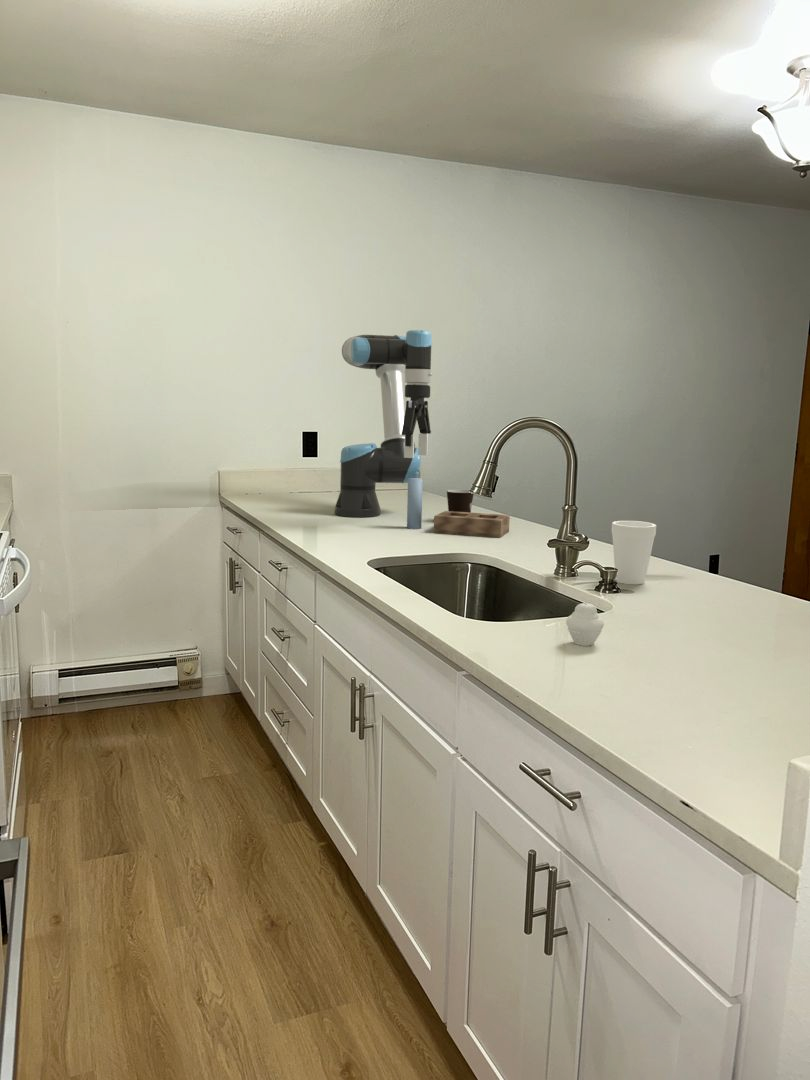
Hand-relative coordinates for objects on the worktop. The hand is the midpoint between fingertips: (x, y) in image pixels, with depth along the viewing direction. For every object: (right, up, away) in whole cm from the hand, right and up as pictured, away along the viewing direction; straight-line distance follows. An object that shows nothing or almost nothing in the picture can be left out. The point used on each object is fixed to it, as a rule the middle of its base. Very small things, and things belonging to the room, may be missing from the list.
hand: (416, 456), depth 253 cm
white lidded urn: (+27, -42, -112) cm, 123 cm away
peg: (-1, -21, +4) cm, 22 cm away
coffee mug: (+15, -19, +19) cm, 31 cm away
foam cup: (+47, -34, -63) cm, 86 cm away
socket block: (+17, -23, -2) cm, 28 cm away
